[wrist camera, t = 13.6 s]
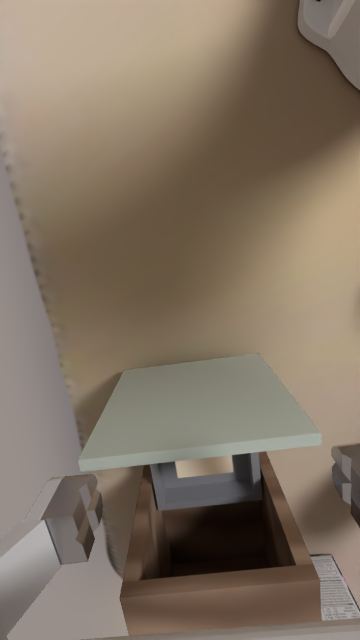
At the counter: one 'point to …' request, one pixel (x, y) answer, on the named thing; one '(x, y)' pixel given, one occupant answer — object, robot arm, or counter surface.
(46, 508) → the robot arm
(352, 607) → the candy bar box
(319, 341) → the counter surface
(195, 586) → the tan box
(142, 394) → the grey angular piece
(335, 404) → the counter surface
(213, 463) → the block
